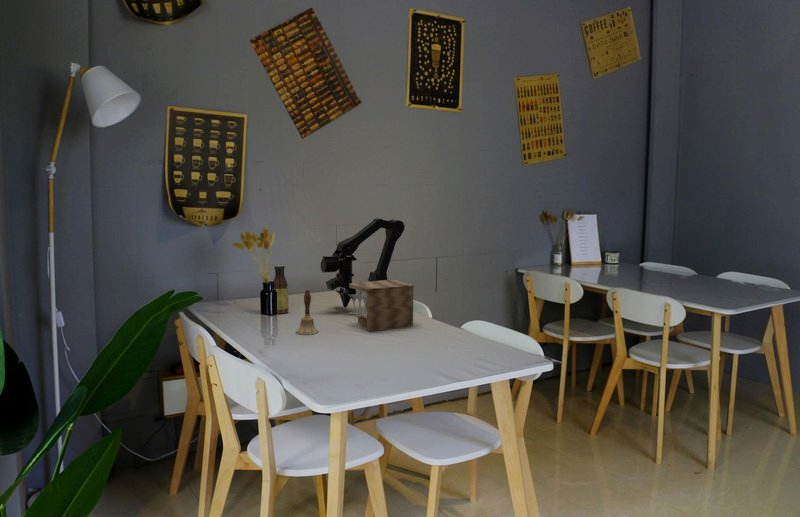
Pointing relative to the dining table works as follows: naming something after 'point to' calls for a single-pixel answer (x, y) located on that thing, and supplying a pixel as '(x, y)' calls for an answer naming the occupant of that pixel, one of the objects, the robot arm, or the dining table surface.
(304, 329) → the hand bell
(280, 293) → the sauce bottle
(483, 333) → the dining table surface
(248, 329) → the dining table surface
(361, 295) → the goblet set
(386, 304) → the walnut cubby
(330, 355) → the dining table surface
